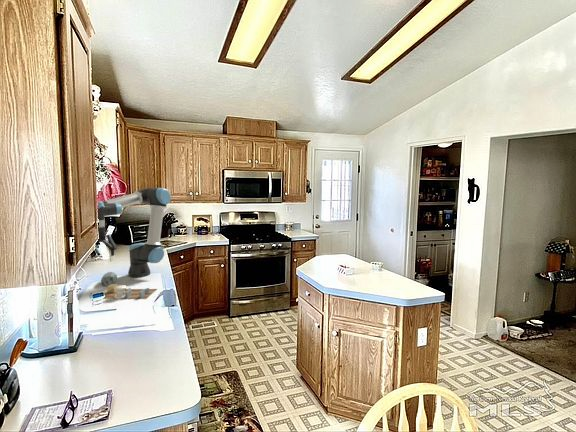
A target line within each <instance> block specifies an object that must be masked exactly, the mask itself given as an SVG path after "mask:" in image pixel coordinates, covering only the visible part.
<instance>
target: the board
mask: <svg viewBox="0 0 576 432" xmlns="http://www.w3.org/2000/svg"><path fill="white" fill-rule="evenodd" d="M143 289H144V288H131V296H130V297H128V298H123V299H122V300H147V299H148V298H149V297H150V296H152V294H154V293H155V292H157V290H158V288H149V294H147V295H145V296H143V297H142V298H140V297H139V292H140V291H142V290H143ZM128 290H129V288H126V289H125V292H127V291H128ZM104 294H105V297H104V298H103V299H102V300H116V299H115V298H114V296H115V295H117V293H116V292H115V293H108V291H107V292H105V293H104Z"/></svg>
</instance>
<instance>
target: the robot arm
mask: <svg viewBox="0 0 576 432" xmlns="http://www.w3.org/2000/svg"><path fill="white" fill-rule="evenodd" d="M171 199H172V197H171V193H170V191H169V190H168V189H167V188H164V187H163V188H162V187H147V188H141V189H138V190H136V191H134V192H133V193H131V194H125V195H122V196H117V197H115V198H114V197H113V198H110V199H106V200H97V201H98V219H99V239H98V242H97V243H102V244H104V245H105V246H106V247H107V248H108V249H109V251H108V252H109V262H114V256H115V250H117V249H118V247H117V245H116V243H115V242H114V240H113V238H112V234H106V221H105V217H109V216H118V215H120V214H122V212H123V208H126V207H130V206H132V205H136V204H137V205H142V204H148V205H149V208H150V215H149V216H150V217H149V223H148V224H149V225H148V229H147V230H148V233H147V239H146V240H147V241H145V242H139V243H134V244H131V245H130V246H129V247H128V248H129V250H128V251H129V265H130V266H129V269H128V272H127V273H128V274H127V275H128V277H129V276H130V278H142V277H143V278H144V277H146V276H147V277H148V276H150V275H151V269H150V267H149V264H148V263H150V264H158V263H160V262H161V261H162V260H163V259H164V256H165V251H164V248H162V245H163V244H162V243H161V235H162V226H163V219H164V210H165V209H166V208H167V205H168V204H169V203H170V202H171ZM86 259H87V258H86ZM86 261H87V262H91V261H92V255H90V256H89V258H88V259H87V260H86Z"/></svg>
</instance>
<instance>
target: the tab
mask: <svg viewBox="0 0 576 432" xmlns="http://www.w3.org/2000/svg"><path fill="white" fill-rule="evenodd" d="M116 286H119V284H118V283H114V284H111V285H109V286H106V288H107V289H106V290H107V292H108V293H115V292H116V290H114V287H116Z"/></svg>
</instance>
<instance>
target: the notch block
mask: <svg viewBox="0 0 576 432" xmlns="http://www.w3.org/2000/svg"><path fill="white" fill-rule="evenodd" d="M128 289H129V290H128V291H127V292H125V295H126V298H128V297H130V296H131V289H132V288H131V287H129V288H128ZM142 289H143V290H142V291H140V292H139V297H140V298H142V297H143V296H145V295H147V294H149V289H150V288H149V287H145V288H142Z"/></svg>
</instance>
